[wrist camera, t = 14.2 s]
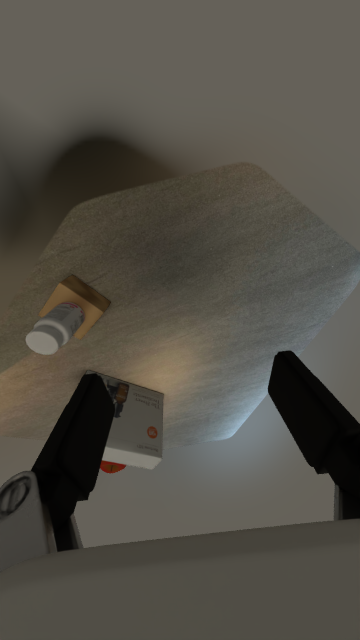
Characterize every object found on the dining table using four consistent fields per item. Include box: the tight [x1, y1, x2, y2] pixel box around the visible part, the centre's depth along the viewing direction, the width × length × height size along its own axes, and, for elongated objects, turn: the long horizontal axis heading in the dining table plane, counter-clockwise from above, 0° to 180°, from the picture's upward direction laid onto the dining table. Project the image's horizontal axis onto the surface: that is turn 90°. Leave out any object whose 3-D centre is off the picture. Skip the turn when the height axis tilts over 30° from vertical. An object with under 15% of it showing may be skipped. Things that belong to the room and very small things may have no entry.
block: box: [38, 275, 111, 340], centre depth 33 cm, size 8×8×4 cm
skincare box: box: [86, 370, 163, 469], centre depth 41 cm, size 21×6×16 cm, turn 61°
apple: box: [100, 460, 126, 473], centre depth 53 cm, size 11×11×11 cm
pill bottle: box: [26, 302, 85, 355], centre depth 28 cm, size 5×5×8 cm
